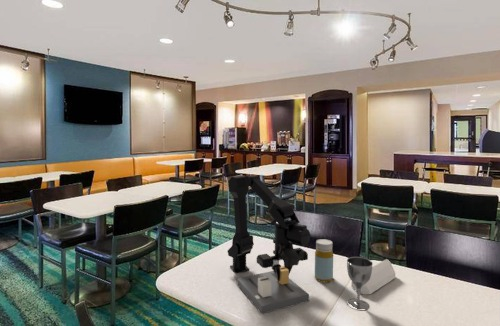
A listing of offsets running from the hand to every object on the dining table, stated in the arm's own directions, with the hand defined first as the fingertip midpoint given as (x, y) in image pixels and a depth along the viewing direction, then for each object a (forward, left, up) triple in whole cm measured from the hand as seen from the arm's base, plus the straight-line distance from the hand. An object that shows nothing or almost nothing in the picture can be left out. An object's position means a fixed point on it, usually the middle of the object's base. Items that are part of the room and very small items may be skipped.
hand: (282, 279), depth 115 cm
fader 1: (+5, -10, -1) cm, 11 cm away
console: (+1, -5, -4) cm, 6 cm away
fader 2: (0, 0, -1) cm, 1 cm away
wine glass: (+20, +18, -4) cm, 27 cm away
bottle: (0, +19, -4) cm, 19 cm away
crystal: (+11, +34, -4) cm, 36 cm away
